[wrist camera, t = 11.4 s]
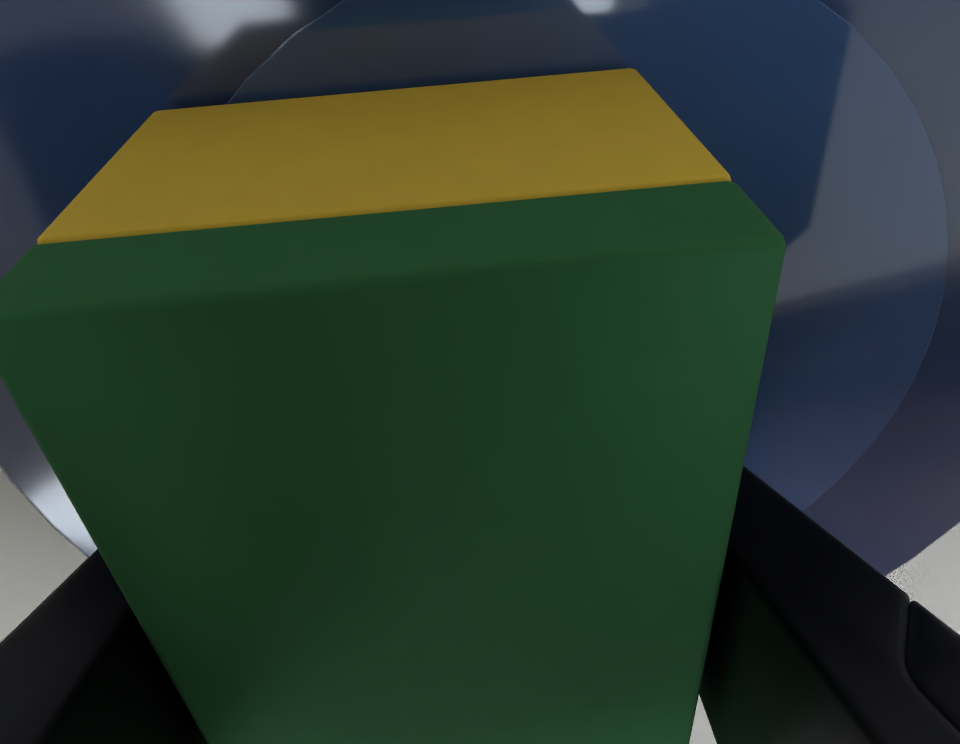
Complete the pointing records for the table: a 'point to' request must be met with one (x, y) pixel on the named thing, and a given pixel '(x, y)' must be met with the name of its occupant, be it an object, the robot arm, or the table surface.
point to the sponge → (408, 405)
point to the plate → (699, 105)
